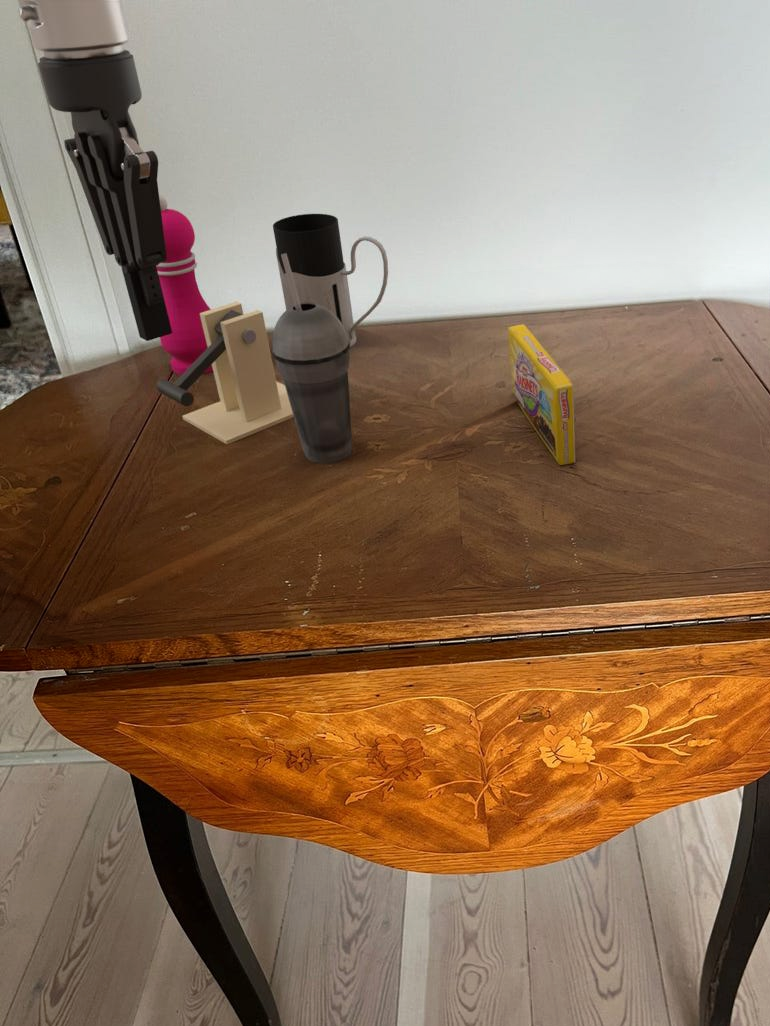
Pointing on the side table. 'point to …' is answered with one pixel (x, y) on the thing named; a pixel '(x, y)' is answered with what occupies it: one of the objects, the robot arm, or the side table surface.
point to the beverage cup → (315, 376)
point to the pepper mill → (181, 292)
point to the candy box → (543, 393)
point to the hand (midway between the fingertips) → (156, 335)
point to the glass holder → (320, 265)
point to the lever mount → (241, 378)
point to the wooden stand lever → (195, 368)
